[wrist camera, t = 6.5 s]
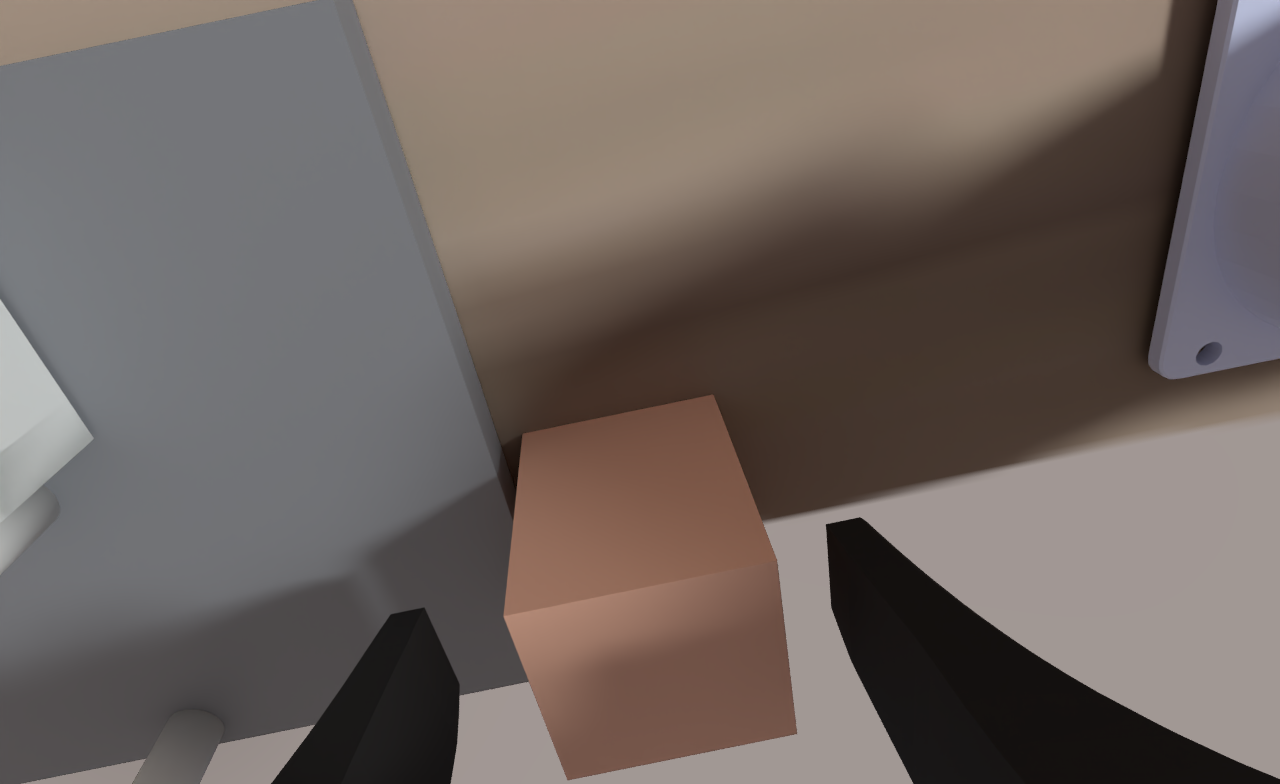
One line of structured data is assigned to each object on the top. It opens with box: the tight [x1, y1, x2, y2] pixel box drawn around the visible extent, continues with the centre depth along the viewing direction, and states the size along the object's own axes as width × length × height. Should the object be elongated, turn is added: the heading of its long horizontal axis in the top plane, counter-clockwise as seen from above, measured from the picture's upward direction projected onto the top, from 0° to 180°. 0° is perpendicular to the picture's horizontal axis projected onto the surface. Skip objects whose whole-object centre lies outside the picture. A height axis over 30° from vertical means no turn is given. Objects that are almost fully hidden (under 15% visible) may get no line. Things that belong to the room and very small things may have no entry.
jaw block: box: [504, 395, 797, 780], centre depth 13 cm, size 4×4×5 cm
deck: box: [0, 0, 529, 784], centre depth 12 cm, size 14×14×4 cm
